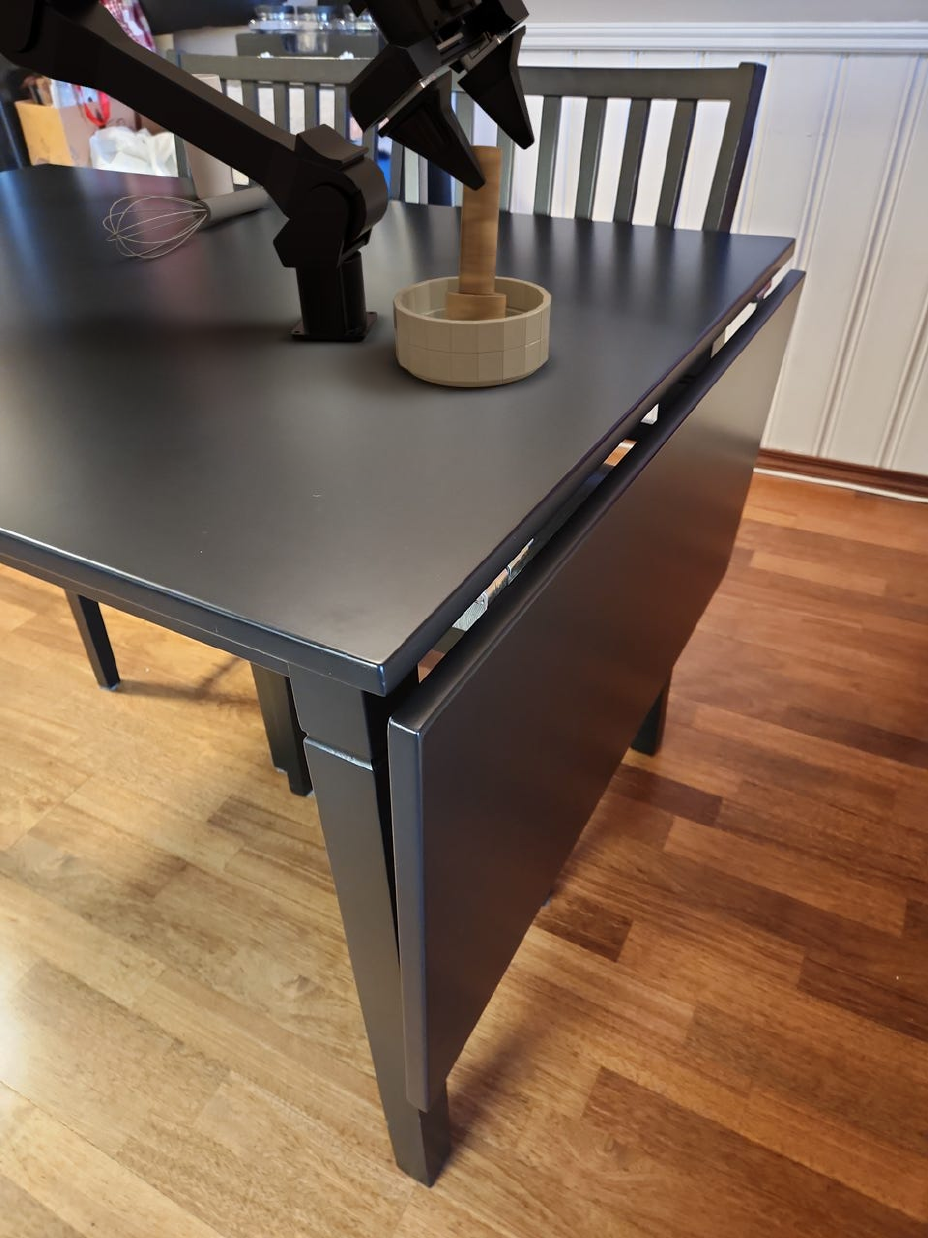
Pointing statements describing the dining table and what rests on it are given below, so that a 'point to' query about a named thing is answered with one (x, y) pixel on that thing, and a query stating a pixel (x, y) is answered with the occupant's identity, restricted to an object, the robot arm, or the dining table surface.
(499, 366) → the bowl
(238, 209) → the kitchen whisk
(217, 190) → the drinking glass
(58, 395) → the dining table surface
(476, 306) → the pestle
